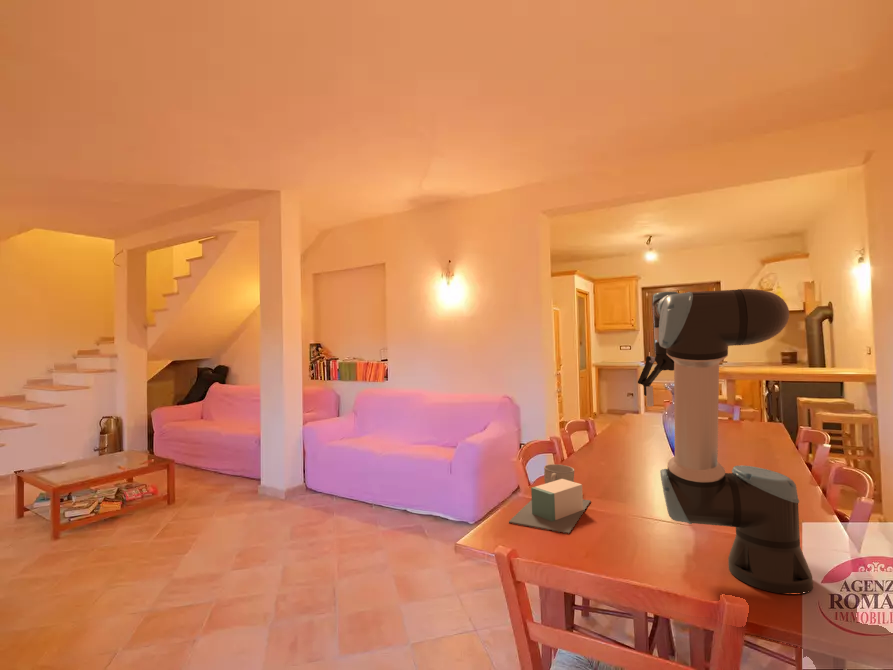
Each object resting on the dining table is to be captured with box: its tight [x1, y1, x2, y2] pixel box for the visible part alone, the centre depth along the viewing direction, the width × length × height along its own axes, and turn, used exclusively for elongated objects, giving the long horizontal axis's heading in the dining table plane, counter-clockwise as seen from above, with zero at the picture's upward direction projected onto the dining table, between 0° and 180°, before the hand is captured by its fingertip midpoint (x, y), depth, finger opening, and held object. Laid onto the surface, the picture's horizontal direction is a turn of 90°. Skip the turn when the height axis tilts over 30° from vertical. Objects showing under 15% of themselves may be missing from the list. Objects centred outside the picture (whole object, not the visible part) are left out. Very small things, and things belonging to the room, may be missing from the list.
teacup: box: [543, 463, 576, 484], centre depth 160 cm, size 14×11×8 cm
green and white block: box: [530, 479, 584, 521], centre depth 139 cm, size 8×8×14 cm
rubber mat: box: [508, 498, 592, 535], centre depth 140 cm, size 28×18×1 cm, turn 150°
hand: (670, 408), depth 139 cm, fingers open, 13 cm apart
